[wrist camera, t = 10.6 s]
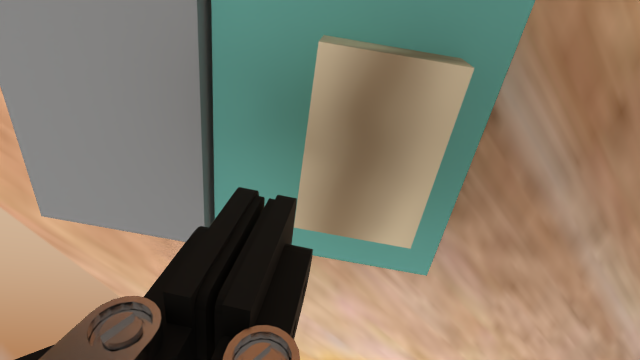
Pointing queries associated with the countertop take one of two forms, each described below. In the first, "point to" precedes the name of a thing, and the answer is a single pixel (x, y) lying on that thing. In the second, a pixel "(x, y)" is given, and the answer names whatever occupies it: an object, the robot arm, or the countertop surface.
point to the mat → (296, 89)
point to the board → (114, 110)
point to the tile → (376, 138)
